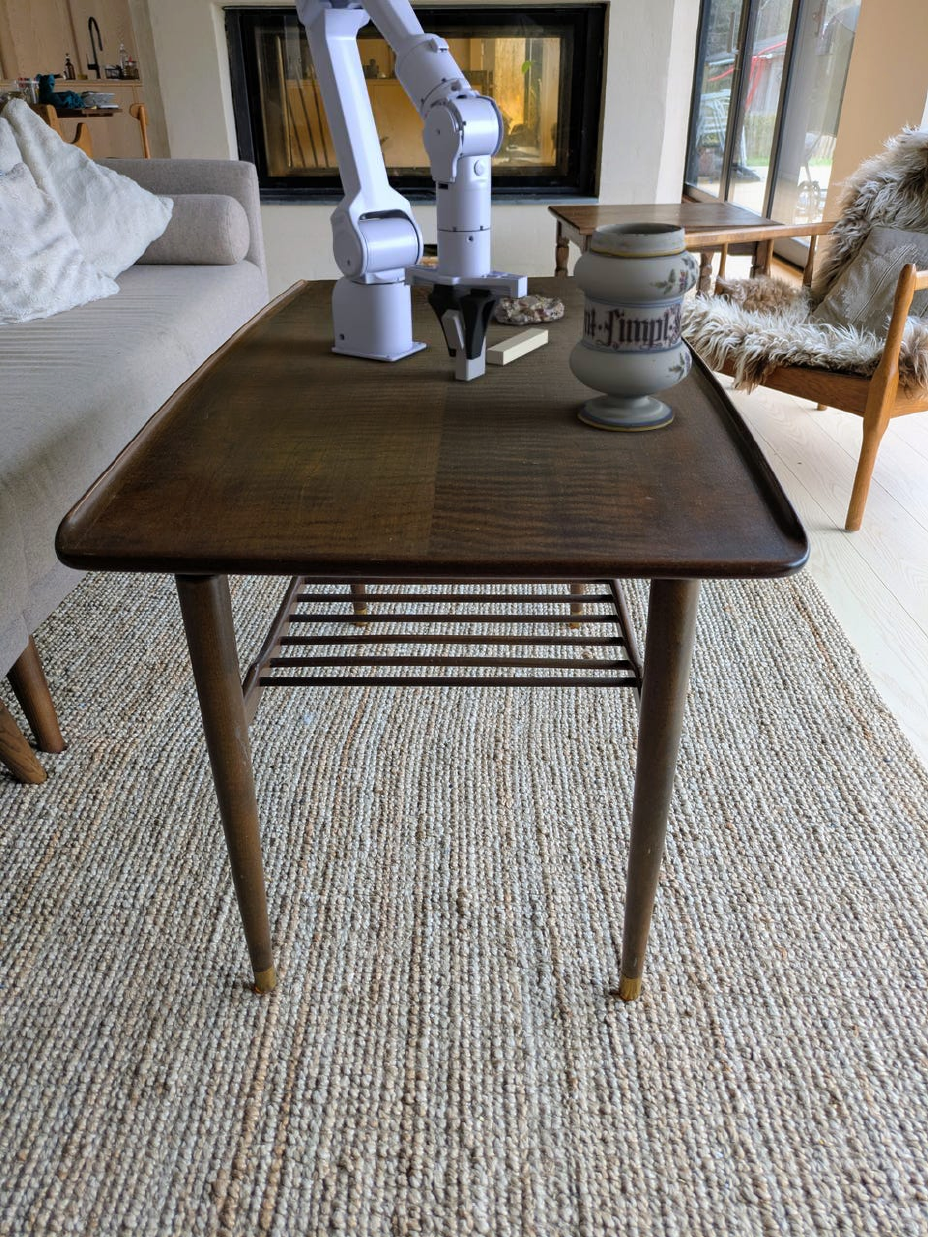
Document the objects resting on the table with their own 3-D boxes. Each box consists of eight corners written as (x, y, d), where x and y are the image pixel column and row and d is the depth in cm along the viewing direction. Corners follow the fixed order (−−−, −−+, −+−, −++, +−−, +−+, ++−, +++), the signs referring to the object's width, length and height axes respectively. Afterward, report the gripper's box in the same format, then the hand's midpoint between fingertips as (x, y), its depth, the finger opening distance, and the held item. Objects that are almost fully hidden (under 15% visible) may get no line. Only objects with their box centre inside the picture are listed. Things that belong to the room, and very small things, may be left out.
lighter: (472, 370, 107) (473, 300, 103) (485, 372, 106) (487, 302, 102) (441, 384, 102) (440, 310, 98) (454, 386, 101) (454, 312, 97)
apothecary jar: (562, 397, 98) (571, 217, 89) (673, 397, 98) (694, 217, 88) (570, 435, 88) (580, 237, 78) (694, 436, 87) (720, 236, 78)
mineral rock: (495, 310, 123) (488, 282, 128) (492, 339, 126) (485, 310, 132) (572, 310, 124) (562, 282, 130) (568, 339, 127) (558, 310, 133)
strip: (486, 362, 110) (486, 349, 109) (531, 340, 119) (531, 327, 118) (503, 365, 109) (503, 351, 108) (547, 342, 118) (548, 329, 117)
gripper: (386, 228, 96) (392, 356, 103) (505, 238, 90) (503, 374, 97) (422, 219, 101) (426, 342, 108) (537, 228, 95) (533, 358, 102)
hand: (464, 356), depth 103 cm, fingers closed on lighter, 2 cm apart
